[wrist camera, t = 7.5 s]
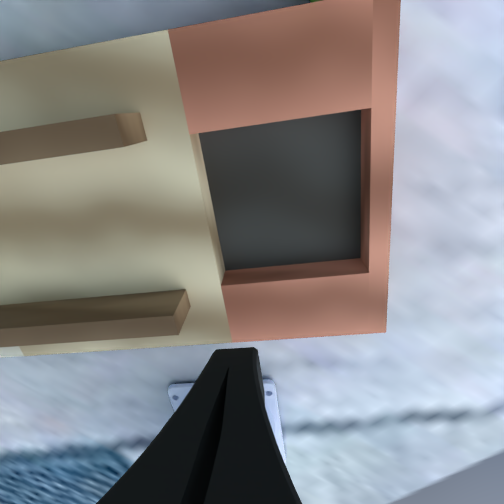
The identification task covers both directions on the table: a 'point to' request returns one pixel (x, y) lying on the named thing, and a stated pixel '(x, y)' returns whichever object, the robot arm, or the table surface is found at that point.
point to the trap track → (201, 183)
